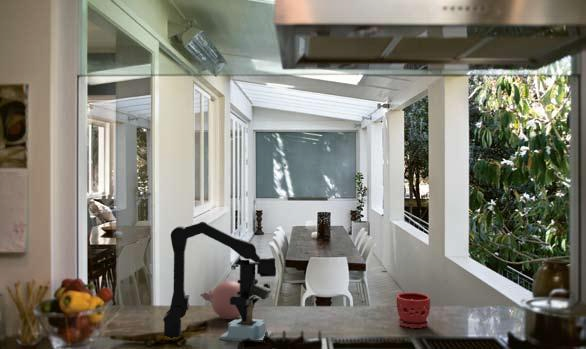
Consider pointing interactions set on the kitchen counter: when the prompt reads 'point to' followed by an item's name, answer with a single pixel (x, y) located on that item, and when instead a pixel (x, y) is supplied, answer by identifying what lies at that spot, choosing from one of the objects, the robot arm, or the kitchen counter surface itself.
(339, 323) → the kitchen counter surface
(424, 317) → the plant pot
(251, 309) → the walnut peg
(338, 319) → the kitchen counter surface
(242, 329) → the socket block
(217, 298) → the balloon
